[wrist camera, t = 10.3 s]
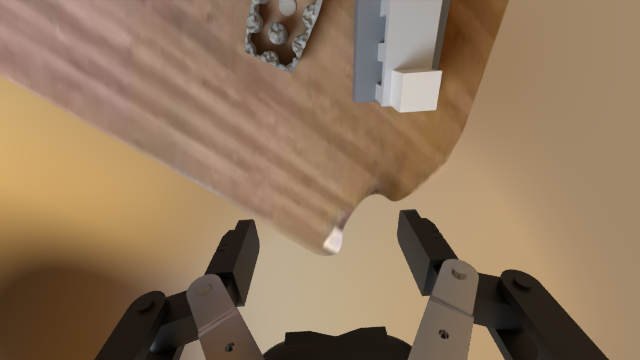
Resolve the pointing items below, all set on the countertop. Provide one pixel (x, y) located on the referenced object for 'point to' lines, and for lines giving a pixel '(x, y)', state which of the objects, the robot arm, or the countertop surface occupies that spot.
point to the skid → (406, 39)
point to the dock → (366, 47)
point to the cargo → (415, 89)
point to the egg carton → (280, 31)
